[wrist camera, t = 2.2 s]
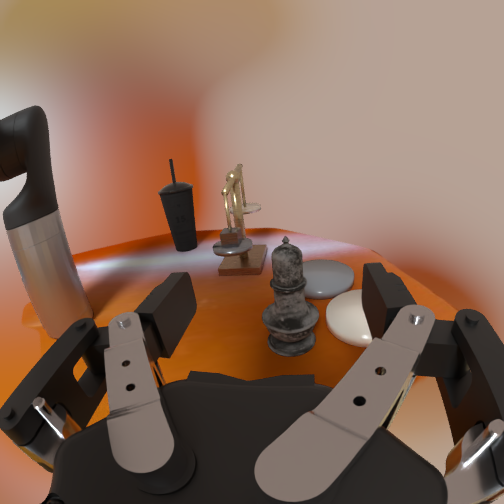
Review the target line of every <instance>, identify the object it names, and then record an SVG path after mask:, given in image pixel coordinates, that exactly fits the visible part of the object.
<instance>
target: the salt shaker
mask: <svg viewBox="0 0 504 504" xmlns="http://www.w3.org/2000/svg"><path fill="white" fill-rule="evenodd" d="M289 241H290V240H288V238H287V237H286V236H285V237H284V238H283V240H282V242H283V244H282V245H281V246H278V247H277V248H275V249H274V251H273V252H272V268H273V279H272V280H271V281H270V286H271V288H273V289H274V298H275V301H274V303H273V304H271V305H269V306H268V307H267V308H266V309H265V310H264V312H263V314H262V320H263V323H264V324H265V325H266V327H267V329H268V331H269V332H270V333H271V334H270V335H269V337H268V345H269V348H270V349H271V350H272V351H273V352H275V353H276V354H279V355H282V356H288V357H290V356H298V355H302V354H304V353H306V352H308V351H309V350H311V349H312V347H313V346H314V344H315V341H316V339H315V335H314V333H313V331H312V330H313V328H314V326H315V323H316V322H317V320H318V317H319V312H318V309H317V308H316V306H314V305H313V304H312V303H310V302H308V301H305V295H304V287H305V286H306V285H307V279H306V278H305V277H304V276H303V261H302V252H301V250H300V249H299V248H298V247H296V246H294V245H291V244H288V242H289Z"/></svg>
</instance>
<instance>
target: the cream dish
mask: <svg viewBox="0 0 504 504" xmlns="http://www.w3.org/2000/svg"><path fill="white" fill-rule="evenodd" d="M361 296H362V289H360V290H352V291H348V292H345V293H342V294H340V295H338V296H336V297H335V298H334V299H332V300H331V301H330V303H329V304H328V306H327V310H326V324H327V327H328V329H329V331H330V332H331V333H332V334H333V335H334V336H335V337H336V338H338V339H339V340H341V341H343V342H345V343H347V344H350V345H354V346H358V347H368V346H369V344H370V343H371V342H372V337H371V333H370V330H369V327H368V324H367V320H366V317H365V314H364V311H363V308H362V299H361Z"/></svg>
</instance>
